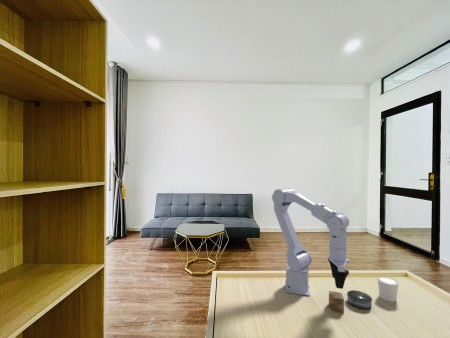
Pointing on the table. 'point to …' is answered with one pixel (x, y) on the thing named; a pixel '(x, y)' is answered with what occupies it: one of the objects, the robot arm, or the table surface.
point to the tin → (359, 300)
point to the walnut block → (336, 301)
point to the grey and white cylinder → (388, 288)
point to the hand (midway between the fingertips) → (337, 282)
